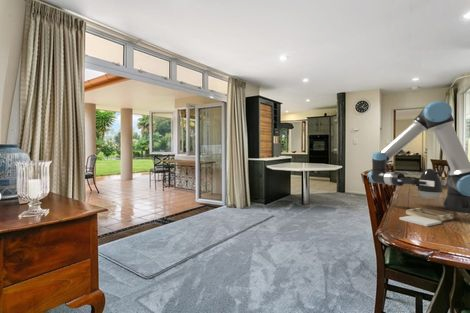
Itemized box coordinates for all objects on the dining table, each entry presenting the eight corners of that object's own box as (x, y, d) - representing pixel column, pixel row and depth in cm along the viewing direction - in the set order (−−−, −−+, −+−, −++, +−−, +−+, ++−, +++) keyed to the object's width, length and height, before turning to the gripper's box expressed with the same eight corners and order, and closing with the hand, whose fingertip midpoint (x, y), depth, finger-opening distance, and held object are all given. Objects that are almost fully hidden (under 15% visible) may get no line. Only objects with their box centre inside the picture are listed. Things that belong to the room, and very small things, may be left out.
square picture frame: (421, 211, 139) (421, 207, 138) (453, 218, 125) (453, 213, 125) (405, 214, 132) (406, 209, 132) (437, 221, 119) (437, 216, 119)
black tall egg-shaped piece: (440, 200, 121) (441, 169, 121) (414, 197, 129) (415, 168, 129) (444, 197, 128) (444, 168, 128) (419, 195, 136) (420, 167, 136)
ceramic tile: (413, 217, 127) (413, 215, 127) (441, 223, 116) (441, 221, 116) (399, 219, 122) (399, 217, 122) (426, 226, 111) (426, 224, 111)
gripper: (406, 184, 150) (451, 189, 129) (382, 186, 140) (427, 192, 120) (406, 171, 149) (451, 175, 129) (382, 173, 140) (427, 176, 120)
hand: (439, 183), depth 124 cm, fingers closed on black tall egg-shaped piece, 9 cm apart
